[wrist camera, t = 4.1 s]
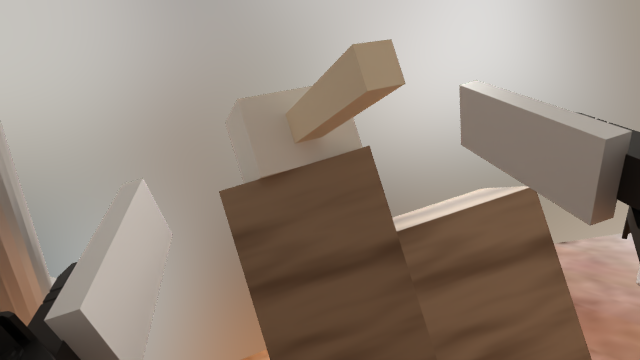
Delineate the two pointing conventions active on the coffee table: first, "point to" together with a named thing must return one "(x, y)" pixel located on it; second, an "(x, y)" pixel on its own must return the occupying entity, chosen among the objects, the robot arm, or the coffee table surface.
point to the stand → (399, 270)
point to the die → (638, 276)
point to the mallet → (312, 113)
